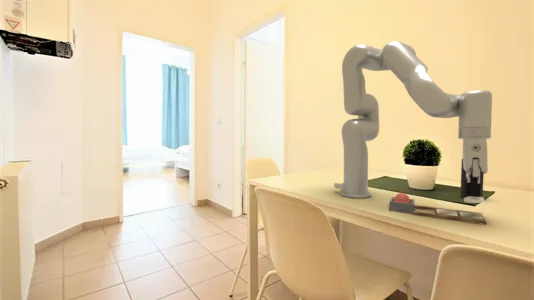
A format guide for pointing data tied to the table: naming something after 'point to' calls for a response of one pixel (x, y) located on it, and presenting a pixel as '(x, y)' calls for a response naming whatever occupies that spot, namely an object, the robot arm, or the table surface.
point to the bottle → (463, 179)
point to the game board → (452, 214)
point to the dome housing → (401, 206)
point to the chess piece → (473, 199)
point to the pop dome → (402, 198)
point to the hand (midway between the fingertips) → (472, 194)
